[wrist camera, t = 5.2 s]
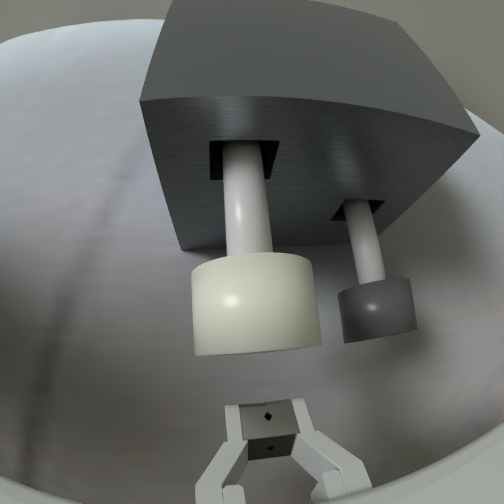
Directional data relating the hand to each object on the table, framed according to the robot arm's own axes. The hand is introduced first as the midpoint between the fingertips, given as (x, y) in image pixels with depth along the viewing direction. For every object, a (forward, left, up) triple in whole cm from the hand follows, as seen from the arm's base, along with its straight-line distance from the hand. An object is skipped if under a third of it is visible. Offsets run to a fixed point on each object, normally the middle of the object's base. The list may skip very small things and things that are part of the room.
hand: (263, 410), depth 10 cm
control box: (+15, +9, -10) cm, 20 cm away
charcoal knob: (+11, 0, -7) cm, 13 cm away
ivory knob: (+5, +5, -2) cm, 8 cm away
